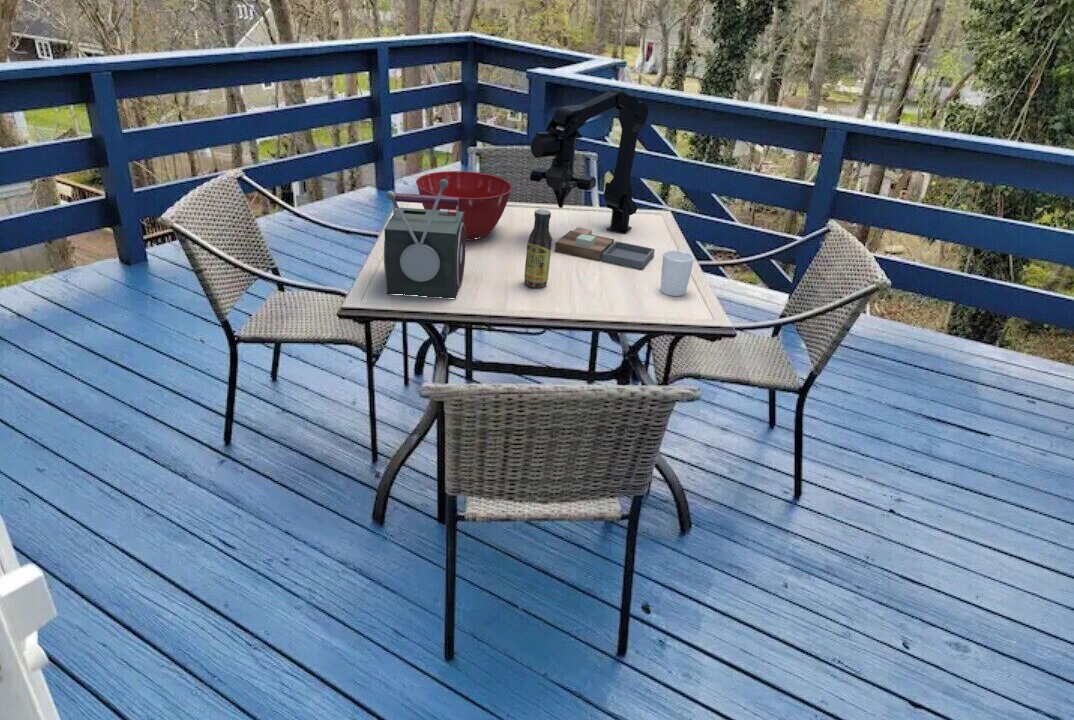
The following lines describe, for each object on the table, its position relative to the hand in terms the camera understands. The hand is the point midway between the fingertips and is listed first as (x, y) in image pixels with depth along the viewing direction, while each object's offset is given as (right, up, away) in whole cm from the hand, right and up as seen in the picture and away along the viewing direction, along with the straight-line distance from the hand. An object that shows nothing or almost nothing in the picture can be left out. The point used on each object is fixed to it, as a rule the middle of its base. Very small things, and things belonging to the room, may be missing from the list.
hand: (560, 207), depth 222 cm
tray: (+19, -16, -4) cm, 25 cm away
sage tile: (+7, -11, -4) cm, 14 cm away
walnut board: (+7, -13, 0) cm, 14 cm away
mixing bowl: (-29, -7, +7) cm, 31 cm away
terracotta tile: (+6, -8, +1) cm, 11 cm away
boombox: (-35, -26, -29) cm, 52 cm away
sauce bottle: (-7, -25, -25) cm, 36 cm away
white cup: (+29, -27, -23) cm, 46 cm away
